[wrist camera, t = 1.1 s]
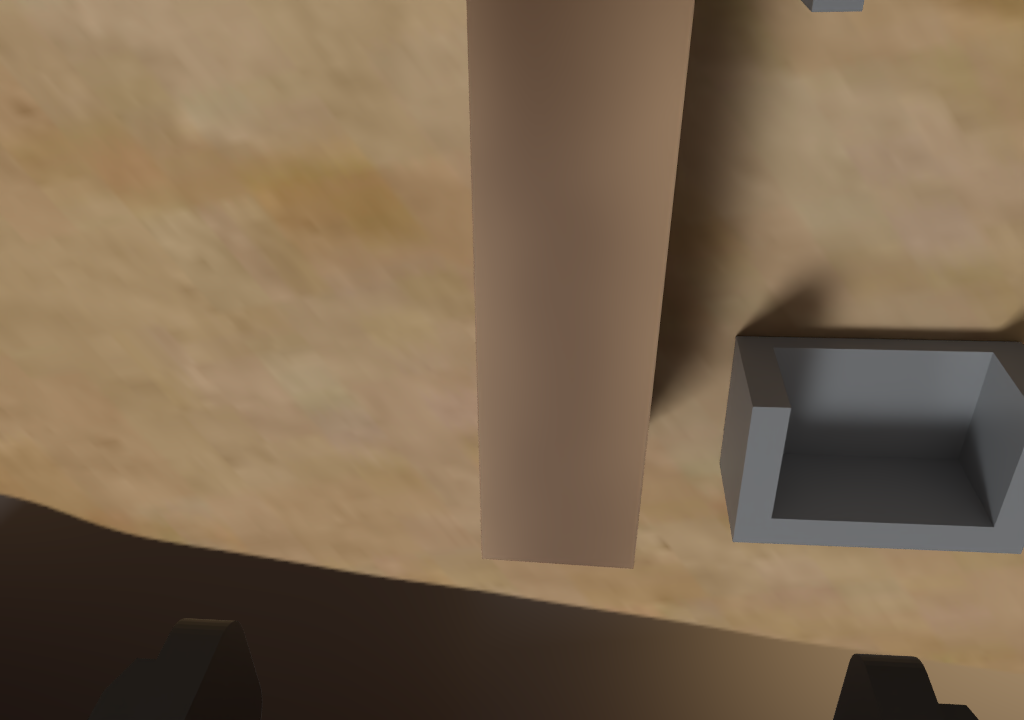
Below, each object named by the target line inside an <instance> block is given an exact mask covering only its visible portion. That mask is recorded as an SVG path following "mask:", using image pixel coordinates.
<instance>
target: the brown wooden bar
mask: <svg viewBox="0 0 1024 720" xmlns="http://www.w3.org/2000/svg"><path fill="white" fill-rule="evenodd" d="M694 4H695V0H467V33H468V70H469V106H470V143H471V179H472V216H473V252H474V289H475V325H476V362H477V398H478V435H479V471H480V507H481V544H482V559H495V560H510V561H525V562H540V563H555V564H570V565H585V566H600V567H615V568H630V569H633V567H634V558H635V549H636V539H637V530H638V521H639V512H640V502H641V493H642V484H643V475H644V465H645V456H646V447H647V438H648V429H649V419H650V410H651V401H652V392H653V382H654V373H655V364H656V355H657V345H658V336H659V327H660V318H661V309H662V299H663V290H664V281H665V272H666V262H667V253H668V244H669V235H670V225H671V216H672V207H673V198H674V188H675V179H676V170H677V161H678V152H679V142H680V133H681V124H682V115H683V105H684V96H685V87H686V78H687V68H688V59H689V50H690V41H691V32H692V22H693V13H694Z"/></svg>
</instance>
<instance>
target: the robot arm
mask: <svg viewBox="0 0 1024 720" xmlns="http://www.w3.org/2000/svg"><path fill="white" fill-rule="evenodd" d="M261 714H262V692H261V687H260V684H259V680H258V677H257V673H256V670H255V667H254V664H253V660H252V657H251V653H250V650H249V647H248V644H247V640H246V637H245V633H244V630H243V628H242V626H241V624H240V623H239V622H238V621H226V620H206V619H186V618H185V619H182V620H180V621H178V623H176V625H175V626H174V627H173V629H172V631H171V632H170V634H169V636H168V638H167V640H166V642H165V644H164V646H163V648H162V650H161V652H160V654H159V656H158V658H157V659H142V658H137V659H136V660H135V661H134V662H133V663H132V664H131V665H130V666H129V667H128V668H126V669H125V670H124V671H123V672H122V673H121V674H120V676H118V677H117V678H116V679H115V680H114V681H113V682H112V683H111V684H110V685H109V686H108V687H107V688H106V689H105V690H104V691H103V693H102V695H101V697H100V698H99V700H98V702H97V704H96V706H95V707H94V709H93V711H92V713H91V715H90V717H89V718H88V720H261ZM833 720H978V719H977V717H976V716H975V715H974V714H973V713H972V711H971V710H970V709H969V708H968V707H967V706H966V705H954V704H938V702H937V699H936V696H935V693H934V691H933V688H932V685H931V683H930V680H929V677H928V674H927V672H926V670H925V668H924V666H923V664H922V662H921V661H920V660H919V659H918V658H917V657H912V656H892V655H871V654H854V655H853V656H852V658H851V659H850V662H849V665H848V669H847V672H846V676H845V679H844V683H843V687H842V690H841V694H840V697H839V701H838V704H837V708H836V711H835V715H834V718H833Z"/></svg>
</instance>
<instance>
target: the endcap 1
mask: <svg viewBox="0 0 1024 720" xmlns="http://www.w3.org/2000/svg"><path fill="white" fill-rule="evenodd" d="M801 1H802V2H803V3H804V4H805V5H806V6H807V7H808V9H809V10H810V11H811V12H844V11H862V9H863V4H864V0H801Z"/></svg>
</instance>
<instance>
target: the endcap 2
mask: <svg viewBox="0 0 1024 720" xmlns="http://www.w3.org/2000/svg"><path fill="white" fill-rule="evenodd" d="M720 469H721V475H722V481H723V487H724V493H725V499H726V504H727V510H728V516H729V522H730V528H731V534H732V540H733V542H749V543H773V544H797V545H821V546H845V547H869V548H893V549H917V550H941V551H965V552H988V553H1012V554H1021V552H1022V550H1023V547H1024V345H1023V344H1022V342H1000V341H950V340H901V339H851V338H801V337H752V336H736V341H735V349H734V357H733V364H732V372H731V380H730V388H729V395H728V403H727V411H726V419H725V426H724V434H723V442H722V450H721V458H720Z"/></svg>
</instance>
